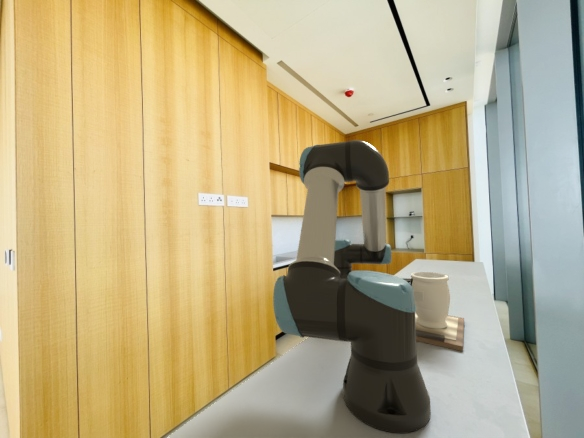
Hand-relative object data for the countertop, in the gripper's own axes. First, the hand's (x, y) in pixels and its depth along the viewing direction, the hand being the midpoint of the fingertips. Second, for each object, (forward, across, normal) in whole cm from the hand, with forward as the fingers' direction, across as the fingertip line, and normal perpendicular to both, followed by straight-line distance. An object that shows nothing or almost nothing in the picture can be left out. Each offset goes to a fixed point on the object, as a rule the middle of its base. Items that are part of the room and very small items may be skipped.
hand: (429, 291), depth 76 cm
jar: (0, 0, -10) cm, 10 cm away
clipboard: (0, 0, -11) cm, 11 cm away
